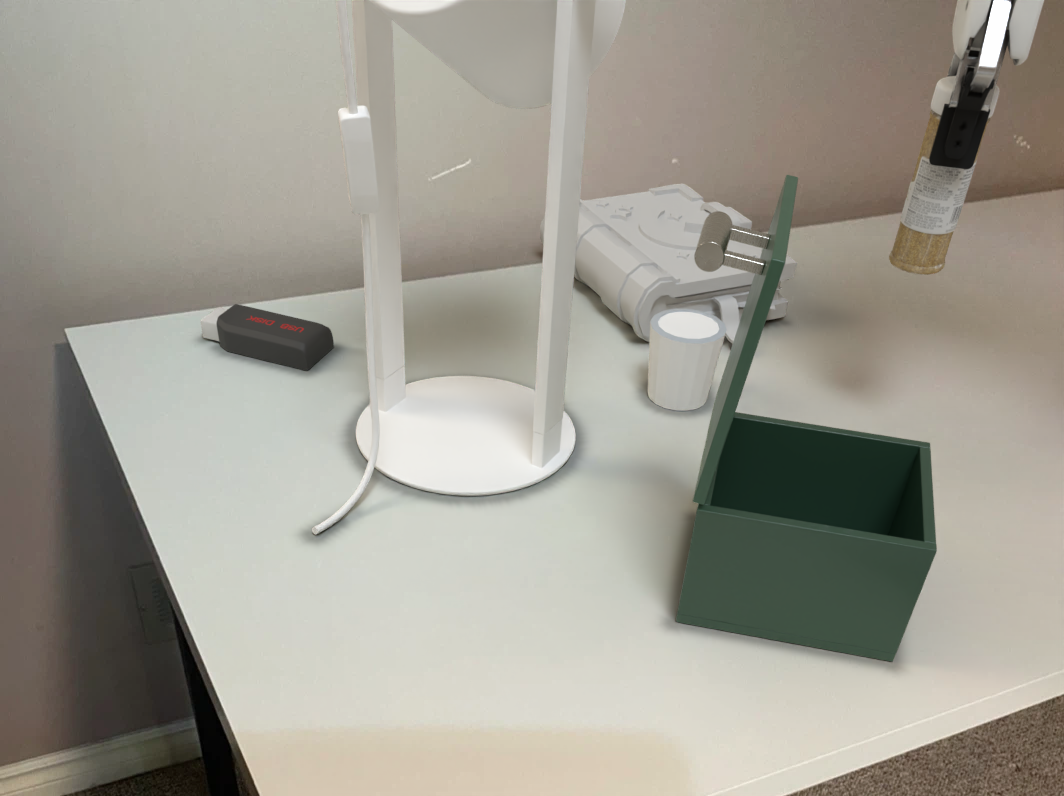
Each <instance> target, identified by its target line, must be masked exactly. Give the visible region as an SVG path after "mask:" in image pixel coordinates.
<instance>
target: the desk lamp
mask: <svg viewBox="0 0 1064 796" xmlns="http://www.w3.org/2000/svg"><path fill="white" fill-rule="evenodd" d="M626 2H627V0H351V15H352V29H353V30H352V31H353V48H354V64H353V57H352V48H351V47H352V46H351V39H350V27H349V17H348V16H349V15H348V6H347V5H348V4H347V0H335V8H336V18H337V19H336V20H337V28H338V38H339V48H340V56H341V63H342V64H341V65H342V73H343V81H344V88H345V96H346V102H347V107H340V108H339V109H338V111H337V118H338V119H337V120H338V128H339V134H340V135H339V137H340V143H341V150H342V159H343V166H344V174H345V181H346V187H347V196H348V203H349V207H350V210H351V214H352V215H354V216H359V218H360V229H361V244H362V265H363V284H364V285H363V288H364V289H363V291H364V293H363V294H364V320H365V321H364V322H365V345H366V347H365V348H366V366H367V381H368V382H367V383H368V396H369V397H368V398H369V404H368V405H367V406H366V407H365V408H364V409H363V411H362V412H361V413H360V415H359V417H358V419H357V422H356V426H355V440H356V444H357V447H358V449H359V451H360V453H361V454H362V456H363V457H364V458H365V460H366V461H367V464H366V467H365V470H364V472H363V475H362V478H361V480H360V482H359V483H358V485H357V487H356V489H355V490H354V492H352V494H351V496H350V497H349V498H348V500H347V501H346V502H345V503H344V504H343V505H342V506H340V508H339V509H338V510H337V511H335V512H334V513H333V514H332V515H330V516H329V517H328V518H326V519H325V520H323V521H322V522H320V523H318V524H316V525H315V526H312V528H311V531H312V533H313V535H318V534H320V533H322V532H324V531H326V530H328V528H330V527H332V526H333V525H334V524H337V522H338V521H340V520H341V519H342V518H343V517H344V516H345V515H346V514H347V513H348V512H350V510H351V509H352V508H353V507H354V506H355V505H356V503H357V502H358V501H359V500H360V498H361V497H362V496H363V494H364V492H365V490H366V489H367V487H368V486H369V485H368V484H369V483H370V481H371V478H372V476H373V473H374V470H375V469H376V470H377V471H378V472H380V473H381V474H383V475H384V476H386V477H388V478H390V479H391V480H394V481H396V482H398V483H400V484H402V485H404V486H408V487H411V488H414V489H417V490H420V491H425V492H430V493H435V494H440V495H447V496H460V497H461V496H464V497H465V496H466V497H469V496H470V497H471V496H473V497H475V496H477V497H478V496H491V495H498V494H504V493H509V492H513V491H518V490H521V489H524V488H528V487H531V486H533V485H535V484H537V483H539V482H541V481H544V480H546V479H548V478H549V477H551V476H552V475H554V474H555V473H557V471H559V470H560V469H561V468H562V467H563V466H564V465H565V464H566V463H567V462H568V460H569V459H570V458H571V456H572V454H573V452H574V450H575V446H576V441H577V440H576V438H577V435H576V429H575V425H574V423H573V421H572V419H571V417H570V415H569V414H568V413H567V411H565V409H564V408H565V407H564V406H565V395H566V394H565V393H566V381H567V367H568V359H569V357H568V356H569V344H570V343H569V341H570V332H571V331H570V329H571V318H572V305H573V293H574V279H575V277H574V269H575V256H576V243H577V231H578V218H579V205H580V198H581V191H582V177H583V166H584V154H585V152H584V151H585V143H586V142H585V141H586V127H587V116H588V104H589V103H588V102H589V90H590V78H591V77H592V75H593V74H594V73H595V72H596V71H597V70H598V68H599V67H600V66H601V65H602V63H603V62H604V60H605V59H606V57H607V56H608V54H609V52H610V50H611V49H612V46H613V44H614V42H615V39H616V38H617V36H618V33H619V30H620V28H621V25H622V21H623V17H624V14H625V8H626V4H627V3H626ZM393 22H394V23H395V24H396V25H398V26H399V27H400V28H401V29H402V30H404V31H405V32H406V33H408V34H409V36H411V38H413V39H414V40H416V42H418V43H419V44H421V45H422V46H423V47H424V48H425V49H427V50H428V51H429V52H430V53H431V54H433V55H434V56H435V57H436V58H438V59H439V60H440V61H441V62H442V63H443V64H445V65H446V66H447V67H449V69H451V70H452V71H453V72H454V73H456V74H457V75H458V76H459V77H460V78H462V79H463V80H464V81H465V82H466V83H468V85H470V86H471V87H472V88H474V89H475V90H476V91H477V92H478V93H480V94H481V95H482V96H484V97H485V98H486V99H488V100H490V102H493V103H495V104H497V105H500V106H502V107H505V108H509V109H516V110H532V109H539V108H543V107H546V106H549V105H551V108H550V124H549V141H548V142H549V143H548V157H547V177H546V192H545V193H546V194H545V195H546V196H545V210H544V211H545V213H544V215H545V227H544V245H543V244H542V247H543V248H542V264H541V282H540V300H539V316H538V331H537V332H538V334H537V351H536V352H537V353H536V370H535V387H534V389H533V388H530V387H528V386H525V385H522V384H519V383H516V382H513V381H509V380H504V379H498V378H495V377H486V376H479V375H478V376H475V375H447V376H446V375H445V376H436V377H431V378H424V379H420V380H416V381H415V380H414V381H411V382H408V383H406V367H405V365H406V355H405V334H404V333H405V329H404V328H405V325H404V305H403V304H404V300H403V299H404V298H403V276H402V275H403V274H402V250H401V249H402V247H401V223H400V221H401V219H400V218H401V217H400V194H399V193H400V192H399V165H398V143H397V141H398V140H397V139H398V138H397V115H396V112H397V111H396V87H395V62H394V61H395V60H394V59H395V57H394V35H393V34H394V33H393V31H394V30H393ZM353 65H355V74H354V66H353ZM355 81H356V82H355Z"/></svg>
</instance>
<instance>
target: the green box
mask: <svg viewBox="0 0 1064 796" xmlns="http://www.w3.org/2000/svg"><path fill="white" fill-rule="evenodd" d="M931 450H932V449H931V442H928V441H921V440H915V439H909V438H902V437H897V436H889V435H883V434H877V433H871V432H865V431H858V430H851V429H845V428H839V427H833V426H827V425H819V424H814V423H807V422H803V421H801V422H800V421H794V420H788V419H782V418H775V417H770V416H764V415H763V416H762V415H757V414H751V413H743V412H738V411H735V414H734V417H733V420H732V423H731V426H730V429H729V432H728V435H727V438H726V441H725V444H724V447H723V450H722V453H721V456H720V459H719V462H718V465H717V468H716V471H715V474H714V477H713V480H712V483H711V486H710V489H709V492H708V495H707V498H706V501H705V504H704V505H702V504H698V503H697V508H696V512H695V516H694V517H695V518H694V523H693V528H692V533H691V539H690V545H689V550H688V555H687V558H686V559H687V560H686V566H685V569H684V577H683V581H682V586H681V592H680V597H679V602H678V607H677V612H676V617H675V622H676V623H680V624H686V625H690V626H695V627H702V628H707V629H713V630H718V631H723V632H728V633H734V634H740V635H745V636H750V637H756V638H761V639H766V640H772V641H778V642H782V643H783V642H784V643H788V644H795V645H798V646H799V645H800V646H805V647H811V648H817V649H820V650H821V649H822V650H826V651H833V652H838V653H843V654H848V655H854V656H860V657H864V658H871V659H876V660H880V661H885V662H886V661H887V662H892V663H893V662H894V660H895V658H896V655H897V652H898V650H899V648H900V645H901V642H902V640H903V638H904V635H905V633H906V630H907V627H908V625H909V623H910V620H911V617H912V615H913V612H914V609H915V607H916V605H917V602H918V600H919V597H920V594H921V592H922V590H923V587H924V586H925V585H924V584H925V582H926V580H927V577H928V574H929V572H930V570H931V567H932V565H933V562H934V559H935V556H936V554H937V552H938V547H937V535H936V533H937V531H936V517H935V516H936V515H935V502H934V500H935V499H934V487H933V468H932V465H933V464H932V451H931Z"/></svg>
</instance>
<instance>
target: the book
mask: <svg viewBox="0 0 1064 796" xmlns="http://www.w3.org/2000/svg"><path fill="white" fill-rule="evenodd" d="M716 211H721V212H724V213H726V214H727V215H729V217H730V218H731V220H732V225H735V226H739V227H743V228H747V229H751V230H752V228H753V227H752V226H753V221H752V220H750V219H749V218H748V217H746V216H745V215H743V214H742V213H740V212H739V211H737V210H735V209H734V208H733V207H731V206H725V205H724V204H723V203H720V202H718V201H709V202H705V201H704V197H703V196H702V195H700V194H699V193H698V192H696V190H694V189H693V188H692V187H690V186H688V185H687V184H685V183H673V184H667V185H662V186H657V187H650V188H648V190H647V191H642V192H641V191H640V192H633V193H626V194H620V195H612V196H605V197H600V198H599V197H597V198H593V199H585V200H583V199H582V198H581V197H580V205H579V218H578V231H577V243H576V256H575V269H574V279H576V280H577V281H579V282H580V283H582V284H584V285H586V286H588V287H589V288H590V289H591V290H592V291H593V292H595V293H596V294H597V295H598V296H599V297H600V299H601V303H602V304H603V305H604V306H606V307H607V308H608V309H609V310H610V311H611V312H612V313H613V314H615V315H616V316H617V317H618V318H619V319H620V320H621V321H622V322H624V323H626V324H628V325H629V326H631V327H632V329H633V332H634V334H635V335H636V336H638V338H640V339H641V340H644V341H645V342H647V343H648V344H649V343H650V321H651V320H652V318H653V316H654V315H656V314H658V313H660V312H662V311H665V310H670V309H693V310H698V311H703V312H706V313H709V314H711V315H713V316H716V317H717V318H719V319H720V320H721V321H722V322H723V323H724V324H725V327H726V329H727V331H726V334H725V338H726V339H727V340H728V341H729V342H730V343H731V345H733V341H734V338H735V335H736V332H737V329H738V326H739V323H740V319H741V316H742V313H743V310H744V307H745V304H746V300H747V297H748V294H749V291H750V288H751V285H752V282H753V278H754V275H755V273H751V272H747V271H743V270H739V269H735V268H731V267H727V266H723V265H722V266H721V267H720V268H719V269H717V270H716V271H713V272H705V271H702V270H701V269H699V268H698V267H697V265H696V263H695V260H694V254H695V251H696V247H697V244H698V241H699V238H700V234H701V231H702V228H703V224H704V221H705V219H706V218H707V216H708V215H709V214H711V213H713V212H716ZM544 227H545V214H544V215H543V217H542V219H541V221H540V228H539V239H540V242H541V244H542V246H543V245H544ZM727 250H728V251H732V252H735V253H739V254H743V255H747V256H751V257H755V258H759V259H760V256H761V253H762V250H763V248H759V247H755V246H751V245H747V244H744V243H740V242H736V241H732V240H729V243H728V247H727ZM797 266H798V261H796V260H795V259H794V258H792V257H791V256H790V255H789V254H787V255H786V261H785V265H784V268H783V271H782V274H781V277H780V280H779V283H778V286H777V289H776V292H775V295H774V298H773V301H772V304H771V307H770V310H769V313H768V316H767V319H766V321H769V320H775V319H780V318H784V317H786V314H787V309H788V304H789V301H788V300H787V299H786V298H785V297H784V296H783V295H782V294H780V293H779V292H780V291H779V290H783V287H781V283H782V282H783V281H789V280H791V279H794V277H795V275H796V274H795V273H796V271H797Z"/></svg>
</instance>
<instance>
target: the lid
mask: <svg viewBox="0 0 1064 796" xmlns="http://www.w3.org/2000/svg"><path fill="white" fill-rule="evenodd" d="M798 183H799V177H798V176H795V175H790V174H786V175H785V177H784V181H783V184H782V187H781V191H780V193H779V196H778V200H777V203H776V206H775V209H774V213H773V215H772V219H771V223H770V225H769V228H768V231H767V233H766V232H762V231H759V230H755V229H752V228H751V229H747V228H743V227H739V226H735V225H732V220H731V218H730V217H729V215H727V214H726V213H724V212H721V211H716V212H713V213H711V214H709V215H708V216H707V218H706V219H705V221H704V224H703V228H702V231H701V234H700V238H699V241H698V244H697V247H696V251H695V254H694V260H695V263H696V265H697V267H698V268H699V269H701V270H702V271H705V272H713V271H716V270H717V269H719V268H720V267H721V266H722V265H723V266H727V267H731V268H735V269H739V270H743V271H747V272H751V273H755V275H754V278H753V282H752V285H751V288H750V291H749V294H748V297H747V300H746V304H745V307H744V310H743V313H742V316H741V319H740V321H739V326H738V329H737V332H736V335H735V338H734V341H733V344H731V348H730V351H729V355H728V358H727V361H726V363H725V367H724V371H723V374H722V376H721V380H720V382H719V386H718V389H717V392H716V396H715V398H714V401H713V405H712V411H711V415H710V419H709V425H708V429H707V434H706V439H705V443H704V448H703V453H702V456H701V461H700V464H699V465H700V466H699V469H698V475H697V479H696V483H695V488H694V494H693V496H692V497H693V498H692V503H694V504H697V505H698V504H702V505H704V504H705V501H706V498H707V495H708V492H709V489H710V486H711V483H712V480H713V477H714V474H715V471H716V468H717V465H718V462H719V459H720V456H721V453H722V450H723V447H724V444H725V441H726V438H727V435H728V432H729V429H730V426H731V423H732V420H733V417H734V414H735V412H737V409H738V406H739V403H740V399H741V395H742V393H743V391H744V388H745V385H746V381H747V380H748V379H747V378H748V375H749V373H750V369H751V367H752V365H753V364H752V363H753V360H754V358H755V354H756V353H757V348H758V346H759V342H760V340H761V337H762V334H763V331H764V327H765V326H766V325H765V324H766V321H767V320H766V319H767V316H768V313H769V310H770V307H771V304H772V301H773V298H774V295H775V292H776V289H777V286H778V283H779V280H780V277H781V274H782V271H783V268H784V265H785V261H786V255H788V254H787V253H788V248H789V241H790V237H791V236H790V235H791V229H792V222H793V215H794V209H795V203H796V196H797V190H798ZM729 240H732V241H736V242H740V243H744V244H747V245H751V246H755V247H759V248H763V250H762V253H761V256H760V259H759V258H755V257H751V256H747V255H743V254H739V253H735V252H732V251H728V250H727V247H728V243H729Z"/></svg>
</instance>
